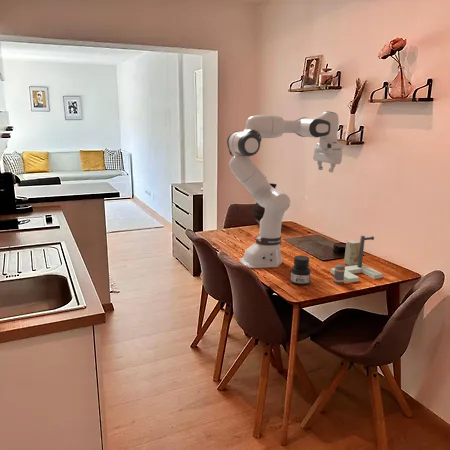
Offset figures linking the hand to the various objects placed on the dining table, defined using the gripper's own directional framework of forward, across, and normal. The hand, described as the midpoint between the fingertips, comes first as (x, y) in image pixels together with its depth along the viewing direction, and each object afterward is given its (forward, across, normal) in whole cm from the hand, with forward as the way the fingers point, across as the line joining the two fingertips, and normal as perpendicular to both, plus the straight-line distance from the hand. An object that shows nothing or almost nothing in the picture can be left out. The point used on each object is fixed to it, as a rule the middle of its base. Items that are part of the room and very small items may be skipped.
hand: (325, 171), depth 217 cm
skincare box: (+47, +16, +10) cm, 51 cm away
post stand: (+47, +30, +3) cm, 56 cm away
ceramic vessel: (+47, -69, +4) cm, 84 cm away
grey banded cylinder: (+47, +35, -12) cm, 60 cm away
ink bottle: (+48, +29, -29) cm, 63 cm away
